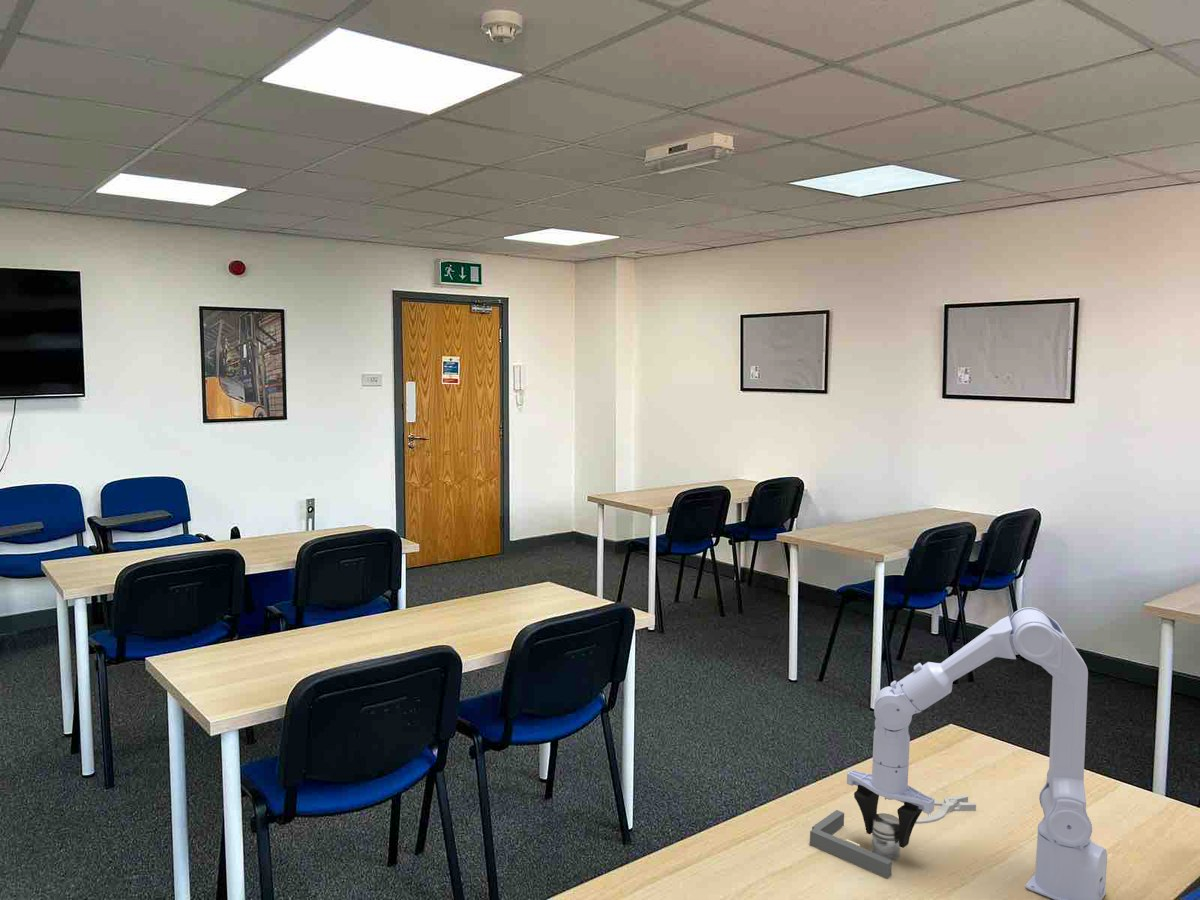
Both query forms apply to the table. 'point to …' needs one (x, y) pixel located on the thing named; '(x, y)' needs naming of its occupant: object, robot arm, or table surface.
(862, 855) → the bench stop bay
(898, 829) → the piston
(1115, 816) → the table surface
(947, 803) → the pliers
